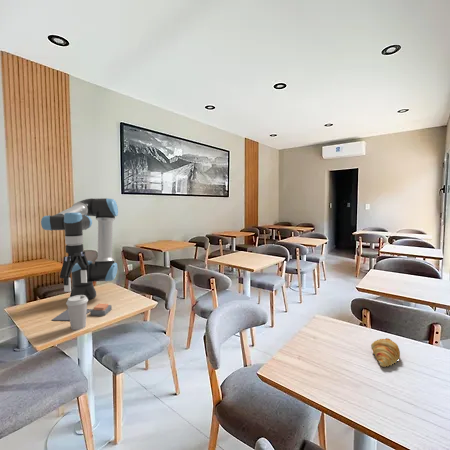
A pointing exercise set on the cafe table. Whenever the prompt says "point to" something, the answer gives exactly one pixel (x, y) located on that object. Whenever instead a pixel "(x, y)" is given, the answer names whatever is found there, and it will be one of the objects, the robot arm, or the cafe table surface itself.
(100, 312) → the button housing
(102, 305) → the button
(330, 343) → the cafe table surface
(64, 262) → the robot arm
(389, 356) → the croissant
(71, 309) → the coffee cup
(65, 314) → the mat
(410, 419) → the cafe table surface
